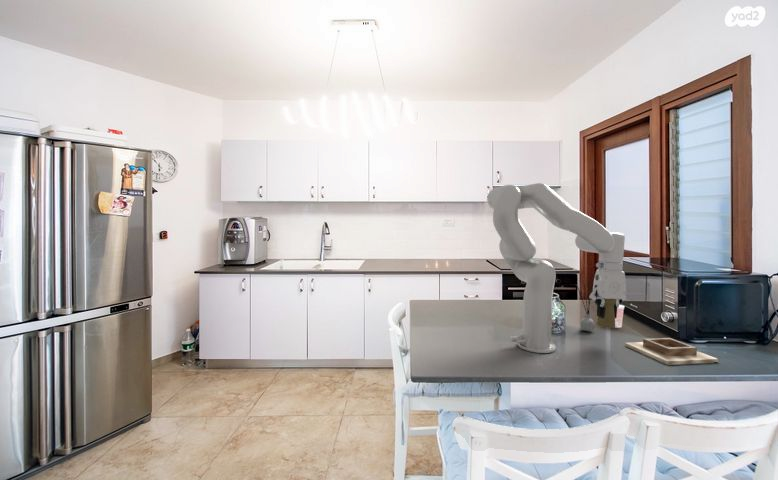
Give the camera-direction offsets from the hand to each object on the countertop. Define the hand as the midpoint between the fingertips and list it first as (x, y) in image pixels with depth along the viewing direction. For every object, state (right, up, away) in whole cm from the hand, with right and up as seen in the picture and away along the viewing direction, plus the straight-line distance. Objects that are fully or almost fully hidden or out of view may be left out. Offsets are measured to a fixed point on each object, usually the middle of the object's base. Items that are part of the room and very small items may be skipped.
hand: (606, 316), depth 136 cm
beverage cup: (+19, -10, +26) cm, 34 cm away
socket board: (+17, -11, -7) cm, 22 cm away
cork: (0, -3, 0) cm, 4 cm away
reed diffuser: (+2, -10, +19) cm, 21 cm away
